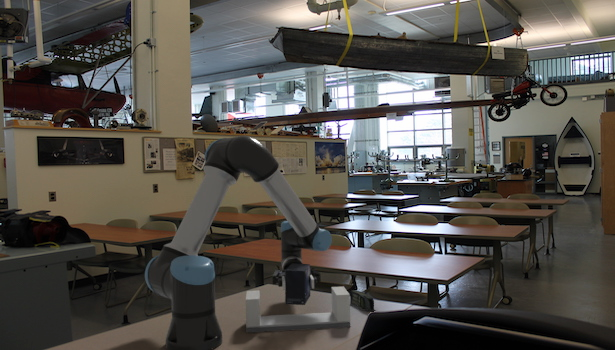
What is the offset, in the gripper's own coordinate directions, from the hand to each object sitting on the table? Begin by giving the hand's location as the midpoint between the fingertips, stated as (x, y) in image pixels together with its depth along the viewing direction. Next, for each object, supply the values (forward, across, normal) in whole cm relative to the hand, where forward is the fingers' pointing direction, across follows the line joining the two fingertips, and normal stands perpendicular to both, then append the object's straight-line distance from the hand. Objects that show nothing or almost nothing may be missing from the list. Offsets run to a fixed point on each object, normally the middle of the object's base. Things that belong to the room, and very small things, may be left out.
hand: (298, 284), depth 133 cm
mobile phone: (-19, -24, -14) cm, 33 cm away
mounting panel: (-5, 0, -13) cm, 14 cm away
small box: (-5, 0, -6) cm, 8 cm away
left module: (-5, +14, -12) cm, 19 cm away
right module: (-5, -13, -12) cm, 18 cm away
